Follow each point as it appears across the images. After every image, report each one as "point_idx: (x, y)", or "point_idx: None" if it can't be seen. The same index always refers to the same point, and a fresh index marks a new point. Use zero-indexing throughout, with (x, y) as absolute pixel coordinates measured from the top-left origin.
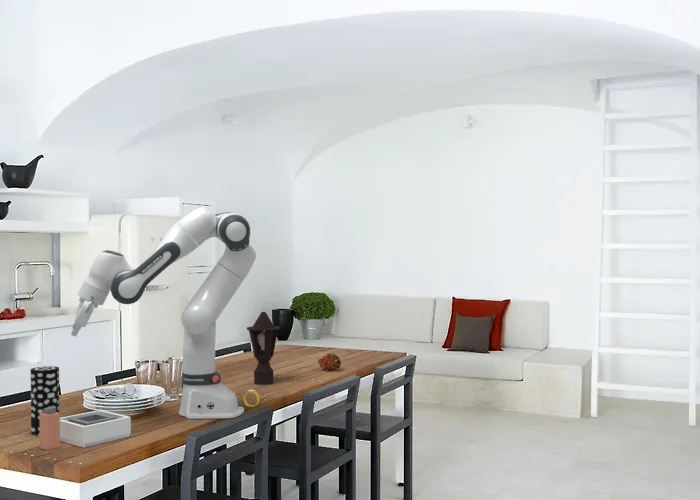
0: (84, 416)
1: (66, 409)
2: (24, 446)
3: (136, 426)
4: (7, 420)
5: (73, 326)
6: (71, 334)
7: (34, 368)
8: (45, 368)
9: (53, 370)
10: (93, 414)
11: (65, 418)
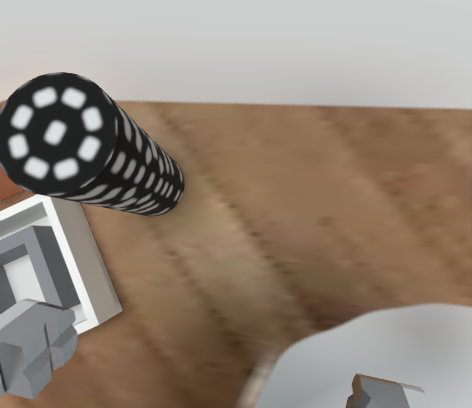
0: (36, 268)
1: (401, 261)
2: None
3: (100, 401)
4: (326, 109)
5: (368, 402)
6: (24, 301)
7: (83, 89)
8: (57, 135)
9: (3, 166)
10: (48, 295)
11: (50, 219)
